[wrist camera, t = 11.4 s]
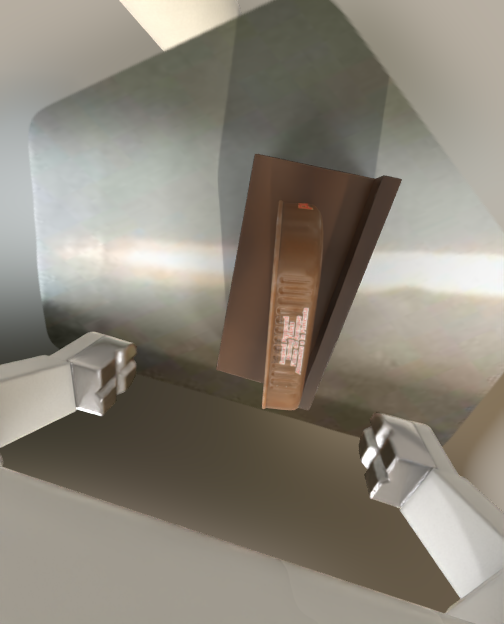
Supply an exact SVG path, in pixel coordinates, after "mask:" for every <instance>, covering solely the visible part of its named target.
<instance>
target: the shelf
mask: <svg viewBox="0 0 504 624" xmlns="http://www.w3.org/2000/svg"><path fill="white" fill-rule="evenodd" d="M401 181H402V179H399V178H394V177H389V176H381V177H379V178H376V179H374V178H369V177H364V176H360V175H355V174H350V173H345V172H341V171H336V170H331V169H326V168H322V167H317V166H312V165H307V164H303V163H298V162H293V161H289V160H284V159H279V158H274V157H270V156H265V155H260V154H255V156H254V161H253V167H252V173H251V178H250V184H249V189H248V195H247V200H246V206H245V211H244V217H243V223H242V228H241V234H240V239H239V245H238V250H237V256H236V262H235V267H234V273H233V278H232V284H231V289H230V295H229V301H228V306H227V312H226V317H225V323H224V328H223V334H222V340H221V345H220V351H219V356H218V362H217V367H216V370H219V371H223V372H226V373H230V374H233V375H237V376H240V377H244V378H247V379H250V380H254V381H257V382H261V383H264V375H265V362H266V350H267V338H268V324H269V311H270V298H271V285H272V275H273V262H274V249H275V239H276V225H277V215H278V207H279V201H280V200H281V201H283V202H285V203H306V204H313V205H315V206H316V207H317V208H318V210H319V211H320V213H321V215H322V221H323V255H322V266H321V276H320V284H319V290H318V298H317V305H316V312H315V319H314V326H313V332H312V339H311V345H310V352H309V357H308V364H307V370H306V376H305V382H304V388H303V393H302V397H301V401H300V404H299V406H298V408H302V409H305V410H309V409H310V407H311V404H312V402H313V399H314V397H315V394H316V392H317V389H318V387H319V384H320V382H321V379H322V377H323V374H324V372H325V370H326V367H327V365H328V362H329V360H330V357H331V355H332V352H333V350H334V347H335V345H336V342H337V340H338V337H339V335H340V332H341V330H342V327H343V325H344V322H345V320H346V317H347V315H348V312H349V310H350V307H351V305H352V303H353V300H354V298H355V295H356V293H357V290H358V288H359V285H360V283H361V280H362V278H363V275H364V273H365V270H366V268H367V265H368V263H369V260H370V258H371V255H372V253H373V250H374V248H375V245H376V243H377V240H378V238H379V235H380V233H381V231H382V228H383V226H384V223H385V221H386V218H387V216H388V213H389V211H390V208H391V206H392V203H393V201H394V198H395V196H396V193H397V191H398V188H399V186H400V183H401Z"/></svg>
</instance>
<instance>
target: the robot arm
mask: <svg viewBox="0 0 504 624" xmlns="http://www.w3.org/2000/svg"><path fill="white" fill-rule="evenodd" d="M136 355H137V346H136V345H135V344H134V343H130V342H127V341H124V340H121V339H117V338H114V337H111V336H106V335H104V334H100V333H97V332H89V333H87V334H85V335H84V336H82V337H80V338H79V339H77V340H75V341H74V342H72V343H70V344H69V345H67V346H66V347H64V348H62V349H61V350H59V351H57V352H56V353H54V354H52V355H51V356H46V355H43V356H38V357H34V358H29V359H25V360H21V361H16V362H11V363H7V364H2V365H0V447H3V446H4V445H7V444H9V443H11V442H13V441H15V440H17V439H19V438H21V437H23V436H25V435H27V434H29V433H31V432H33V431H35V430H38V429H40V428H42V427H44V426H46V425H48V424H50V423H51V422H54V421H56V420H58V419H60V418H62V417H64V416H66V415H68V414H70V413H73V412H75V411H76V409H78V410H81V411H85V412H89V413H92V414H96V415H100V416H103V415H104V414H105V413H106V412H107V410H108V409H109V408H110V407H111V406H112V405H113V404H114V403H115V402H116V400H117V394H120V393H122V392H124V391H126V390H127V388H129V387H130V385H131V384H132V382H133V380H134V378H135V375H136V371H137V364H136V363H135V361H134V360H133V357H134V356H136ZM370 423H371V427H369V428H367V429H365V430H364V431H363V433H362V435H361V437H360V443H359V454H360V459H361V461H362V463H363V464H364V465H365V467H366V468H367V469H368V470H367V471H366V473H365V479H366V483H367V488H368V492H369V495H370V498H372V499H374V500H378V501H380V502H384V503H386V504H389V505H392V506H395V507H398V508H401V509H400V511H401V512H402V513H403V515H404V516H405V518H406V520H407V521H408V522H409V524H410V525H411V527H412V528H413V530H414V531H415V533H416V534H417V536H418V537H419V539H420V540H421V541H422V543H423V544H424V546H425V547H426V549H427V550H428V552H429V553H430V555H431V556H432V558H433V559H434V560H435V562H436V563H437V565H438V566H439V568H440V569H441V571H442V572H443V574H444V575H445V576H446V578H447V579H448V581H449V582H450V583H451V585H452V587H453V588H454V590H455V591H456V592H457V594H458V595H459V597H460V598H461V599H460V600H459V601H457V602H456V603H455V604H453V605H452V606H450V607H449V608H448V610H447V612H446V613H445V614H444V613H441V612H438V611H435V610H432V609H429V608H426V607H423V606H420V605H417V604H414V603H411V602H408V601H405V600H402V599H399V598H396V597H393V596H390V595H387V594H384V593H381V592H378V591H375V590H372V589H369V588H366V587H363V586H360V585H357V584H354V583H351V582H347V581H345V580H342V579H339V578H336V577H333V576H330V575H327V574H324V573H321V572H318V571H315V570H312V569H309V568H306V567H303V566H300V565H297V564H293V563H291V562H288V561H285V560H282V559H278V558H276V557H273V556H269V555H267V554H263V553H261V552H258V551H254V550H252V549H249V548H246V547H242V546H239V545H236V544H233V543H230V542H227V541H224V540H221V539H218V538H215V537H212V536H209V535H206V534H203V533H200V532H197V531H194V530H191V529H188V528H185V527H182V526H179V525H176V524H173V523H170V522H167V521H164V520H161V519H158V518H155V517H152V516H149V515H146V514H143V513H140V512H137V511H134V510H131V509H128V508H124V507H121V506H118V505H115V504H112V503H109V502H106V501H103V500H100V499H97V498H94V497H91V496H88V495H85V494H82V493H79V492H76V491H73V490H70V489H67V488H64V487H61V486H58V485H55V484H52V483H49V482H46V481H43V480H40V479H37V478H34V477H30V476H27V475H25V474H22V473H19V472H15V471H13V470H10V469H7V468H4V467H2V465H3V460H2V457H1V454H0V624H504V512H503V511H502V510H500V509H499V508H498V507H497V506H496V505H495V504H494V503H493V502H491V501H490V500H489V499H488V498H487V497H486V496H485V495H484V494H483V493H481V492H480V491H479V490H478V489H477V488H476V487H475V486H474V485H473V484H471V483H470V482H469V481H468V480H467V479H466V478H464V477H461V476H459V475H458V473H457V472H456V470H455V468H454V467H453V465H452V463H451V462H450V460H449V458H448V457H447V455H446V453H445V451H444V450H443V448H442V446H441V445H440V443H439V441H438V440H437V438H436V436H435V434H434V433H433V431H432V429H431V428H430V427H429V426H427V425H426V424H422V423H418V422H414V421H410V420H409V421H408V420H405V419H401V418H398V417H394V416H390V415H387V414H383V413H379V412H376V413H374V414H373V415H372V417H371V419H370Z"/></svg>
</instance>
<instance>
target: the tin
mask: <svg viewBox="0 0 504 624" xmlns="http://www.w3.org/2000/svg"><path fill="white" fill-rule="evenodd" d="M322 255H323V221H322V215H321V213H320V211H319V210H318V208H317V207H316V206H315V205H313V204H306V203H285V202H283V201H281V200H280V201H279V207H278V215H277V225H276V239H275V249H274V262H273V275H272V285H271V298H270V311H269V324H268V338H267V350H266V362H265V375H264V387H263V402H262V409H265V408H274V409H282V410H295V409H297V408H298V406H299V404H300V401H301V397H302V393H303V388H304V382H305V376H306V370H307V364H308V357H309V352H310V345H311V339H312V332H313V326H314V319H315V312H316V305H317V298H318V290H319V284H320V276H321V266H322Z"/></svg>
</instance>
